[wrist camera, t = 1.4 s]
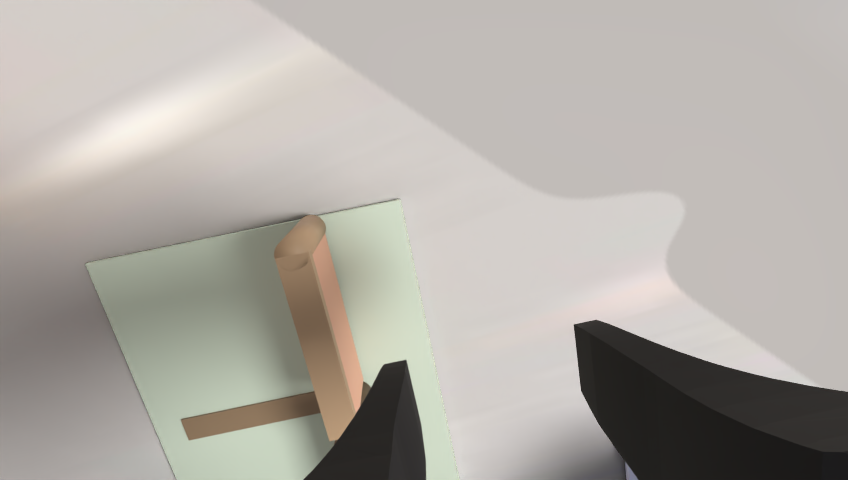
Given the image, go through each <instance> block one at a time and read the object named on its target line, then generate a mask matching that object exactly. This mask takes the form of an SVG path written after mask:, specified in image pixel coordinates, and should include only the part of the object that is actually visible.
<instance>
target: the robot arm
mask: <svg viewBox="0 0 848 480" xmlns="http://www.w3.org/2000/svg"><path fill="white" fill-rule="evenodd" d="M574 331H575V340H576V349H577V358H578V367H579V376H580V385H581V391H582V393H583V395H584V397H585V399H586V401H587V403H588V405H589V407H590V409H591V411H592V413H593V414H594V416H595V418H596V420H597V422H598V423H599V425H600V426H601V428H602V429H603V431H604V432H605V434H606V435H607V436H608V438H609V439H610V441H611V442H612V444H613V445H614V446H615V448H616V449H617V451H618V452H619V453H620V455H621V456H622V458H623V459H624V460H625V468H626V480H848V392H845V391H838V390H831V389H825V388H819V387H813V386H807V385H802V384H797V383H792V382H787V381H782V380H777V379H772V378H768V377H763V376H759V375H754V374H751V373H747V372H743V371H739V370H736V369H732V368H728V367H724V366H721V365H717V364H714V363H711V362H708V361H705V360H702V359H699V358H696V357H693V356H690V355H687V354H684V353H681V352H678V351H675V350H673V349H670V348H667V347H665V346H662V345H659V344H657V343H654V342H652V341H649V340H647V339H644V338H642V337H639V336H637V335H635V334H632V333H630V332H627V331H625V330H622V329H620V328H617V327H615V326H612V325H610V324H607V323H604V322H601V321H598V320H593V321H589V322H584V323H579V324H574ZM303 480H426V457H425V449H424V441H423V434H422V426H421V421H420V417H419V412H418V408H417V404H416V399H415V395H414V391H413V386H412V382H411V378H410V373H409V369H408V364H407V360H402V361H397V362H392V363H387V364H384V365H383V366H382V368H381V369H380V371H379V373H378V375H377V377H376V379H375V381H374V383H373V385H372V387H371V388H370V390H369V392H368V394H367V396H366V397H365V399H364V401H363V402H362V404H361V406H360V407H359V409H358V411H357V412H356V414H355V416H354V417H353V419H352V420H351V422H350V423H349V425H348V426H347V428H346V429H345V430H344V432H343V433H342V435H341V436H340V438H339V439H338V440H337V442H336V443H335V444H334V446H333V447H332V448H331V450H330V451H329V452H328V453H327V454H326V455H325V457H324V458H323V459H322V460H321V461H320V463H319V464H318V465H317V466H316V467H315V468H314V469H313V470H312V471H311V472H310V473H309V474H308V475H307V476H306V477H305V478H304V479H303Z"/></svg>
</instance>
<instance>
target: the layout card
mask: <svg viewBox="0 0 848 480" xmlns="http://www.w3.org/2000/svg"><path fill="white" fill-rule="evenodd" d="M317 216H318V217H320V218H321V219H322V220H323V221H324V223H325V225H326V232H325V234H326V238H327V242H328V246H329V250H330V253H331V257H332V261H333V265H334V269H335V272H336V276H337V280H338V284H339V288H340V291H341V295H342V299H343V303H344V307H345V310H346V314H347V318H348V322H349V326H350V329H351V333H352V337H353V341H354V345H355V348H356V352H357V356H358V360H359V364H360V367H361V371H362V375H363V381H364V382H366V383H367V384H369V385H370V387H372V385H373V383H374V381H375V379H376V377H377V375H378V373H379V371H380V369H381V368H382V366H383V365H384V364H387V363H392V362H397V361H402V360H407V364H408V369H409V373H410V378H411V382H412V386H413V391H414V395H415V399H416V404H417V408H418V412H419V417H420V421H421V426H422V434H423V441H424V449H425V457H426V480H459V475H458V471H457V466H456V461H455V456H454V452H453V447H452V442H451V437H450V433H449V428H448V423H447V418H446V414H445V409H444V404H443V399H442V395H441V390H440V385H439V380H438V376H437V371H436V366H435V361H434V357H433V352H432V347H431V342H430V338H429V333H428V328H427V323H426V319H425V314H424V309H423V304H422V300H421V295H420V290H419V285H418V281H417V276H416V271H415V266H414V262H413V257H412V252H411V248H410V243H409V238H408V233H407V229H406V224H405V219H404V214H403V210H402V205H401V200H400V199H396V200H391V201H386V202H381V203H376V204H372V205H367V206H362V207H357V208H352V209H347V210H342V211H337V212H332V213H327V214H322V215H317ZM300 220H301V219H298V220H293V221H288V222H283V223H278V224H273V225H268V226H263V227H259V228H254V229H249V230H244V231H239V232H234V233H229V234H224V235H219V236H214V237H209V238H205V239H200V240H195V241H190V242H185V243H180V244H175V245H170V246H165V247H160V248H155V249H151V250H146V251H141V252H136V253H131V254H126V255H121V256H116V257H111V258H106V259H101V260H96V261H92V262H88V263H86V264H85V265H86V268H87V270H88V272H89V275H90V277H91V279H92V282H93V284H94V286H95V289H96V291H97V294H98V296H99V298H100V301H101V303H102V305H103V308H104V310H105V312H106V315H107V317H108V320H109V322H110V324H111V327H112V329H113V331H114V334H115V336H116V338H117V341H118V343H119V345H120V348H121V350H122V353H123V355H124V357H125V360H126V362H127V364H128V367H129V369H130V371H131V374H132V376H133V378H134V381H135V383H136V386H137V388H138V390H139V393H140V395H141V397H142V400H143V402H144V404H145V407H146V409H147V411H148V414H149V416H150V419H151V421H152V423H153V426H154V428H155V430H156V433H157V435H158V437H159V440H160V442H161V444H162V447H163V449H164V452H165V454H166V456H167V459H168V461H169V463H170V466H171V468H172V470H173V473H174V475H175V477H176V480H303V479H304V478H305V477H306V476H307V475H308V474H309V473H310V472H311V471H312V470H313V469H314V468H315V467H316V466H317V465H318V464H319V463H320V461H321V460H322V459H323V458H324V457H325V455H326V454H327V453H328V452H329V451H330V450H331V448H332V447H333V446H334V442H335V440H333V441H329V438H328V435H327V431H326V428H325V425H324V421H323V418H322V415H321V411H320V408H319V405H318V401H317V398H316V395H315V391H314V388H313V385H312V381H311V378H310V375H309V371H308V368H307V365H306V361H305V358H304V355H303V351H302V348H301V345H300V341H299V338H298V335H297V331H296V328H295V325H294V321H293V318H292V315H291V311H290V308H289V305H288V301H287V298H286V295H285V291H284V288H283V285H282V281H281V278H280V275H279V271H278V268H277V265H276V261H275V258H274V251H275V248H276V246H277V245H278V244H279V242H280V241H281V240H282V239H283V238H284V237H285V236H286V235H287V234H288V233H289V232H290V231H291V230H292V228H293V227H294V226H295V225H296V224H297V223H298V222H299V221H300Z"/></svg>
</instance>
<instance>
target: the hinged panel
mask: <svg viewBox="0 0 848 480" xmlns="http://www.w3.org/2000/svg"><path fill="white" fill-rule="evenodd" d="M325 232H326V225H325V223H324V221H323V220H322V219H321V218H320V217H318V216H316V215H307V216H305V217H303V218H302V219H301V220H300V221H299V222H298V223H297V224H296V225H295V226H294V227H293V228H292V230H291V231H290V232H289V233H288V234H287V235H286V236H285V237H284V238H283V239H282V240H281V241H280V242H279V244H278V245H277V246H276V248H275V251H274V258H275V261H276V265H277V268H278V271H279V275H280V278H281V281H282V285H283V288H284V291H285V295H286V298H287V301H288V305H289V308H290V311H291V315H292V318H293V321H294V325H295V328H296V331H297V335H298V338H299V341H300V345H301V348H302V351H303V355H304V358H305V361H306V365H307V368H308V371H309V375H310V378H311V381H312V385H313V388H314V391H315V395H316V398H317V401H318V405H319V408H320V411H321V415H322V418H323V421H324V425H325V428H326V431H327V435H328V438H329V441H333V440H338V439H339V438H340V436H341V435H342V433H343V432H344V430H345V429H346V428H347V426H348V425H349V423H350V422H351V420H352V419H353V417H354V416H355V414H356V412H357V411H358V409H359V407H360V404H361V396H362V387H363V375H362V371H361V367H360V364H359V360H358V356H357V352H356V348H355V345H354V341H353V337H352V333H351V329H350V326H349V322H348V318H347V314H346V310H345V307H344V303H343V299H342V295H341V291H340V288H339V284H338V280H337V276H336V272H335V269H334V265H333V261H332V257H331V253H330V250H329V246H328V242H327V238H326V234H325Z"/></svg>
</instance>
